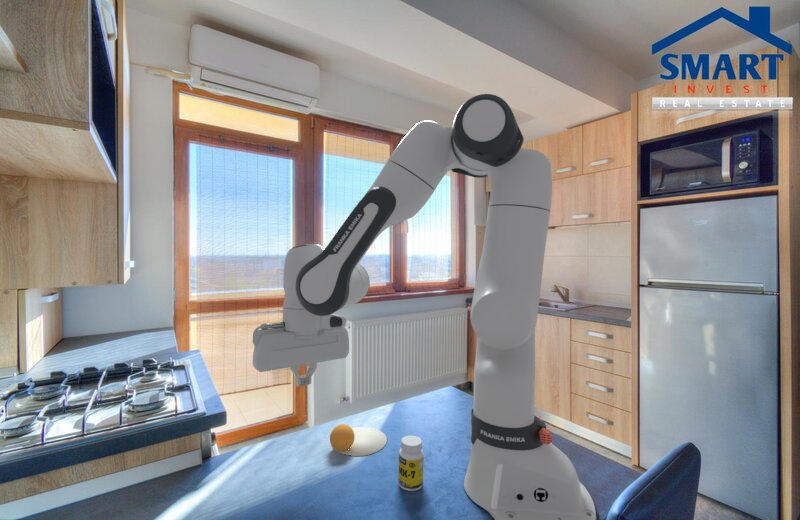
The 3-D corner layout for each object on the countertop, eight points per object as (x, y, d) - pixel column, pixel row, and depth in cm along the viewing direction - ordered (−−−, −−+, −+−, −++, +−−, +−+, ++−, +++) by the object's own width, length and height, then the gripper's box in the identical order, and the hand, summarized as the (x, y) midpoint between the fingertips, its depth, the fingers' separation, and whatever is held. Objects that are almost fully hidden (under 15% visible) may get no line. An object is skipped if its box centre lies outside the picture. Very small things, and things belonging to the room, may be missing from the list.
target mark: (393, 431, 87) (393, 430, 87) (376, 460, 75) (376, 459, 75) (345, 424, 90) (345, 424, 90) (321, 451, 78) (321, 450, 78)
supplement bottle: (393, 487, 66) (394, 442, 66) (405, 473, 70) (405, 431, 70) (416, 495, 64) (417, 449, 64) (427, 481, 68) (427, 437, 68)
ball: (328, 427, 76) (322, 449, 77) (350, 439, 75) (343, 461, 76) (341, 415, 81) (335, 435, 82) (361, 426, 80) (355, 446, 81)
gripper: (257, 327, 66) (255, 400, 66) (353, 318, 78) (352, 379, 78) (249, 322, 71) (247, 390, 71) (340, 314, 83) (339, 372, 83)
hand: (303, 384), depth 74 cm, fingers closed
